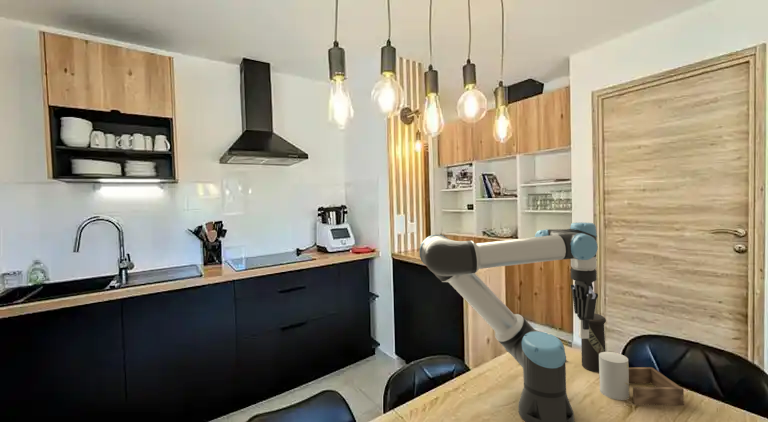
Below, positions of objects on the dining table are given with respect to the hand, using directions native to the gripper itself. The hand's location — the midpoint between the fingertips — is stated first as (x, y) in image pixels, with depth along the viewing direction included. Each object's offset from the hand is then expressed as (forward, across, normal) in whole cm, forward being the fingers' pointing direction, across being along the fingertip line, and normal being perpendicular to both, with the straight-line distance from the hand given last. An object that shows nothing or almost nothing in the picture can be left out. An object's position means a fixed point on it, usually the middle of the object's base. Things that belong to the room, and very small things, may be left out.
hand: (583, 337), depth 120 cm
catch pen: (+17, -4, -17) cm, 24 cm away
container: (+17, +14, -11) cm, 25 cm away
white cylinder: (+17, -4, -8) cm, 19 cm away
